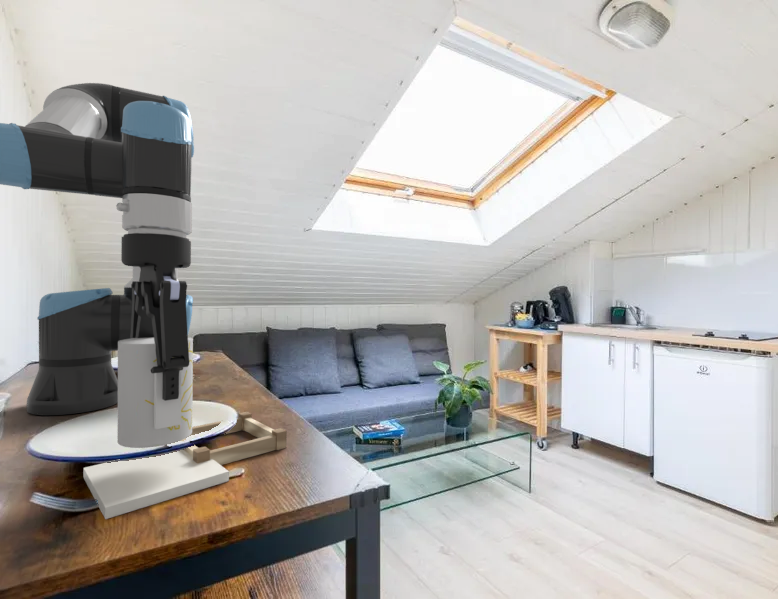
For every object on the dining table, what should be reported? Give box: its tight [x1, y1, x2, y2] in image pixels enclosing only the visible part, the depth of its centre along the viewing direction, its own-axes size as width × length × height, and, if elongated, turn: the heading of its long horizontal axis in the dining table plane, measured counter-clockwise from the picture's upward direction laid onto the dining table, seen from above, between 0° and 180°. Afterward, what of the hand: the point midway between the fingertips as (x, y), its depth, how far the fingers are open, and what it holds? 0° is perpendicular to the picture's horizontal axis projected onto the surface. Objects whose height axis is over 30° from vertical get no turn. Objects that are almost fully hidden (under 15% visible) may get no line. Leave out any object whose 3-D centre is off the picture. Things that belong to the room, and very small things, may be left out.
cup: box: [117, 336, 194, 449], centre depth 52 cm, size 8×8×12 cm
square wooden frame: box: [181, 411, 288, 466], centre depth 64 cm, size 13×13×3 cm
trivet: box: [82, 450, 230, 520], centre depth 52 cm, size 13×13×1 cm
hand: (156, 417), depth 52 cm, fingers closed on cup, 8 cm apart
